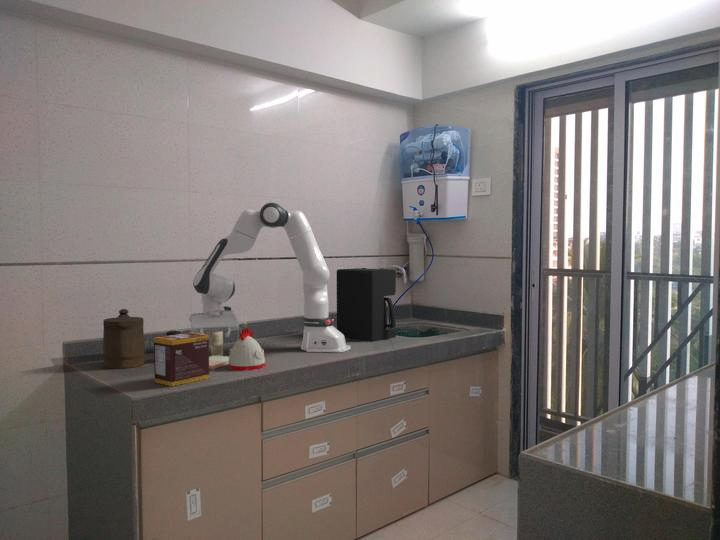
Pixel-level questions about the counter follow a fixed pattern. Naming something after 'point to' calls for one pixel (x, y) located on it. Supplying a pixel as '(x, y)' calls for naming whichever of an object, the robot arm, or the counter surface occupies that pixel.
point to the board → (217, 361)
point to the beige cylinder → (217, 343)
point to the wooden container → (123, 341)
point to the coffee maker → (365, 303)
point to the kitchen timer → (246, 353)
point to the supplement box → (181, 358)
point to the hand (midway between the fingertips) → (216, 338)
